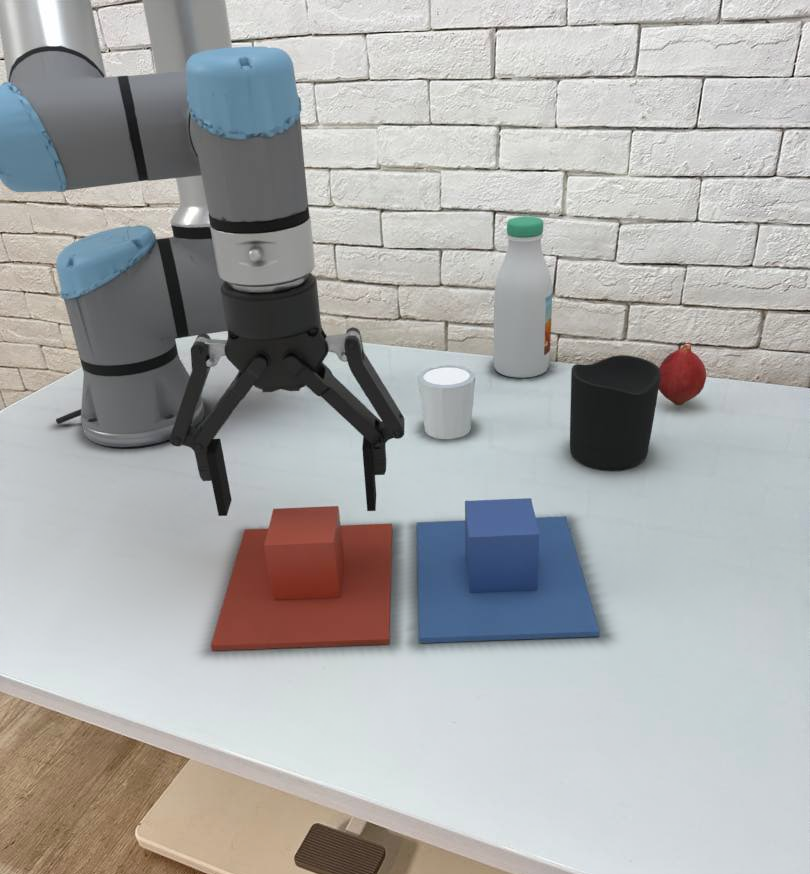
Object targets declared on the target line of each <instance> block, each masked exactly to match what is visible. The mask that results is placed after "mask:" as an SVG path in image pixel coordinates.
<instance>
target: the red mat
mask: <svg viewBox="0 0 810 874" xmlns="http://www.w3.org/2000/svg"><path fill="white" fill-rule="evenodd" d="M340 525H341V534H342V543H343V553H344V566H343V576H342V585H341V595H340V598H316V599H291V600H274V599H273V593H272V587H271V581H270V575H269V570H268V564H267V558H266V552H265V546H264V545H265V541H266V537H267V533H268V528H269V527H268V528H248V529H247V528H246V529H243V534H242V537H241V542H240V544H239V547H238V550H237V555H236V559H235V561H234V565H233V568H232V572H231V575H230V578H229V582H228V585H227V588H226V592H225V596H224V598H223V603H222V606H221V609H220V612H219V615H218V619H217V622H216V627H215V630H214V633H213V637H212V640H211V644H210V648H211V651H238V650H239V651H240V650H241V651H242V650H266V649H292V648H293V649H294V648H321V647H322V648H323V647H347V646H377V645H379V646H380V645H390V637H391V636H390V635H391V634H390V631H391V595H392V594H391V592H392V562H393V561H392V560H393V559H392V557H393V556H392V554H393V523H391V522H390V523H369V524H345V525H342V524H340Z"/></svg>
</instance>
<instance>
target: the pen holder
mask: <svg viewBox="0 0 810 874" xmlns="http://www.w3.org/2000/svg"><path fill="white" fill-rule="evenodd" d="M659 367H660V366H658V365H657V364H656V363H654V362H651V361H650V360H648V359H645V358H642V357H638V356H634V355H633V356H632V355H626V354H622V355H621V354H619V355H612V356H609V357H607V358H604V359H601V360H599V361H597V362H593V363H589V364H581V363H576V364H574V365H572V367H571V371H570V372H571V373H570V408H569V409H570V411H569V412H570V413H569V414H570V415H569V450H570V454H571V455H572V456H573V458H574V459H575V460H576V461H578V462H579V463H581V464H582V465H584V466H587V467H590V468H594V469H597V470H605V471H606V470H607V471H619V470H626V469H631V468H634V467H635V466H638V465H639V464H641V463H642V462H643V461H644V460H645V459H646V457H647V456H648V454H649V453H648V452H649V448H650V442H651V436H652V431H653V426H654V420H655V413H656V406H657V401H658V395H659V384H660V378H661V370H660V369H659Z"/></svg>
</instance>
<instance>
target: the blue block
mask: <svg viewBox="0 0 810 874" xmlns="http://www.w3.org/2000/svg"><path fill="white" fill-rule="evenodd" d="M536 518H537V517H536V514H535V509H534V505H533V502H532V498H531V497H525V498H504V499H503V498H501V499H500V498H499V499H479V500H465V501H464V521H465V553H466V564H467V574H468V584H469V592H470V593H480V592H506V591H532V590H537V580H538V558H539V536H540V534H539V530H538V526H537V521H536Z"/></svg>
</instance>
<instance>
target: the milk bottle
mask: <svg viewBox="0 0 810 874" xmlns="http://www.w3.org/2000/svg"><path fill="white" fill-rule="evenodd" d="M543 232H544V220H543V219H542V218H539V217H536V216H517V217H513V218H509V219H508V220H507V223H506V234H507V235H506V239H507V240H508V243H507V244H508V245H507V249H506V253H505V256H504V258H503V261H502V263H501V265H500V267H499V270H498V272H497V274H496V275H497V276H496V279H495V284H494V297H493V299H494V300H493V367H494V369H495V371H496V372H497V373H498V374H501V375H502V376H506V377H510V378H521V379H522V378H532V377H536V376H540V375H542V374H544V373H545V372H546V371H547V370H548V369H549V366H550V358H551V338H552V335H551V333H552V314H553V313H552V312H553V282H552V275H551V272H550V269H549V266H548V265H547V261H546V259H545V257H544V253H543V248H542V239H543V238H544V236H543Z"/></svg>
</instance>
